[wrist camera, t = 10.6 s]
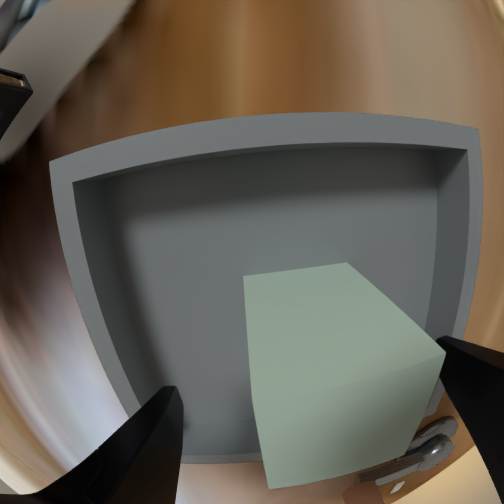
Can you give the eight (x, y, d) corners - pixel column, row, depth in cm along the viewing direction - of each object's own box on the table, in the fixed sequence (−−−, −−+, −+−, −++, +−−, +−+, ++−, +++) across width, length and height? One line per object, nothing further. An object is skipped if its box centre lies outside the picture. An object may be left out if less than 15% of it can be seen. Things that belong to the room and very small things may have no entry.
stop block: (346, 262, 12) (446, 352, 5) (344, 347, 13) (404, 454, 6) (243, 276, 12) (252, 400, 5) (254, 362, 13) (268, 489, 6)
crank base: (463, 406, 17) (467, 411, 16) (416, 481, 22) (418, 485, 21) (405, 433, 17) (409, 440, 16) (369, 499, 21) (371, 504, 21)
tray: (439, 132, 11) (478, 128, 8) (415, 386, 15) (434, 413, 12) (87, 162, 10) (49, 162, 8) (164, 426, 15) (157, 461, 12)
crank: (452, 428, 16) (482, 472, 10) (439, 450, 17) (463, 491, 11) (341, 472, 16) (360, 532, 10) (336, 489, 17) (351, 542, 11)
